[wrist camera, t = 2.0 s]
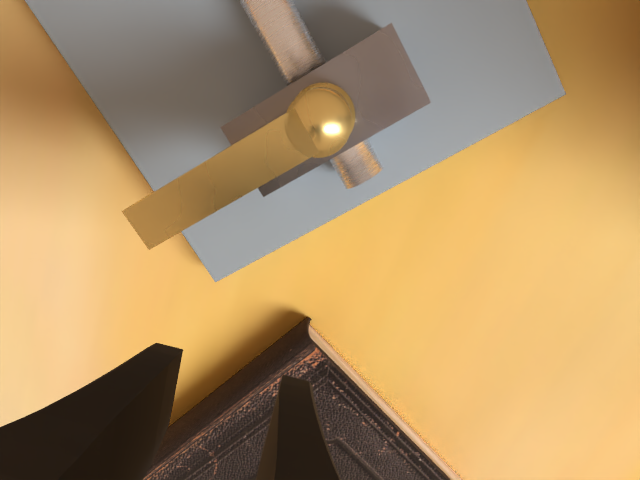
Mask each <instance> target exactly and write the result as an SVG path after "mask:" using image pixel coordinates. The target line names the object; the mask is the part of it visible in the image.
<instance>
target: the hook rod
mask: <svg viewBox="0 0 640 480" xmlns="http://www.w3.org/2000/svg"><path fill="white" fill-rule="evenodd" d="M239 1H240V3H241V5H242V7H243V9H244V10H245V12H246V14H247V16H248V17H249V19H250V21H251V23H252V24H253V26H254V28H255V30H256V31H257V33H258V35H259V37H260V38H261V40H262V42H263V44H264V45H265V47H266V49H267V51H268V52H269V54H270V56H271V58H272V60H273V61H274V63H275V65H276V67H277V68H278V70H279V72H280V74H281V75H282V77H283V79H284V81H285V82H286V84H287V86H289V85H290V84H292V83H294V82H295V81H297V80H298V79H300V78H302V77H303V76H305V75H307V74H308V73H310V72H312V71H313V70H315V69H316V68H318V67H320V66H321V65H323V64H325V63H326V61H325V60H324V58H323V56H322V54H321V52H320V50H319V49H318V47H317V45H316V43H315V41H314V39H313V37H312V36H311V34H310V32H309V30H308V28H307V26H306V25H305V23H304V21H303V19H302V17H301V15H300V13H299V12H298V10H297V8H296V6H295V4H294V2H293V1H292V0H239ZM330 162H331V163H332V165H333V167H334V169H335V170H336V172H337V174H338V176H339V177H340V179H341V181H342V183H343V184H344V186H345V188H346V189H350V188H353V187H355V186H358V185H360V184H362V183H364V182H366V181H367V180H369V179H371V178H372V177H374V176H375V175H377V174H378V173H379V172H380V171H381V170H382V169H383V167H382V165H381V163H380V161H379V159H378V157H377V156H376V154H375V152H374V150H373V148H372V146H371V145H370V143H369V141H368V139H366V140H364V141H362V142H360V143H359V144H357V145H355V146H353V147H352V148H350V149H348V150H346V151H345V152H343V153H341V154H339V155H337V156H336V157H334V158H332V159H330Z"/></svg>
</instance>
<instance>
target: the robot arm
mask: <svg viewBox="0 0 640 480" xmlns="http://www.w3.org/2000/svg"><path fill="white" fill-rule="evenodd" d="M182 352H183V349H179V348H175V347H171V346H167V345H163V344H159V343H155V344H153V345H151V346H150V347H148V348H146V349H145V350H143V351H142V352H140V353H138V354H137V355H135V356H134V357H132V358H131V359H129V360H127V361H126V362H124V363H123V364H121V365H119V366H118V367H116V368H115V369H113V370H111V371H110V372H108V373H106V374H105V375H103V376H101V377H100V378H98V379H96V380H95V381H93V382H91V383H89V384H88V385H86V386H84V387H83V388H81V389H79V390H77V391H75V392H73V393H72V394H70V395H68V396H66V397H64V398H62V399H60V400H58V401H56V402H54V403H52V404H51V405H49V406H47V407H45V408H43V409H41V410H39V411H37V412H34V413H32V414H30V415H28V416H26V417H23V418H21V419H19V420H16V421H14V422H12V423H9V424H7V425H5V426H2V427H0V480H143V479H144V477H145V475H146V474H147V472H148V470H149V468H150V467H151V465H152V462H153V460H154V458H155V456H156V453H157V451H158V449H159V447H160V444H161V442H162V440H163V437H164V435H165V433H166V430H167V428H168V426H169V422H170V417H171V411H172V406H173V401H174V395H175V390H176V384H177V379H178V374H179V368H180V363H181V357H182ZM256 480H341V478H340V476H339V474H338V471H337V469H336V467H335V464H334V461H333V459H332V456H331V454H330V451H329V448H328V445H327V442H326V439H325V436H324V433H323V430H322V427H321V423H320V420H319V416H318V412H317V408H316V404H315V399H314V394H313V387H312V385H311V383H310V382H309V381H307V380H303V379H299V378H295V377H291V376H287V375H282V379H281V382H280V386H279V390H278V394H277V398H276V401H275V405H274V409H273V413H272V417H271V420H270V424H269V428H268V432H267V436H266V439H265V443H264V447H263V451H262V455H261V459H260V463H259V468H258V472H257V476H256Z"/></svg>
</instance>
